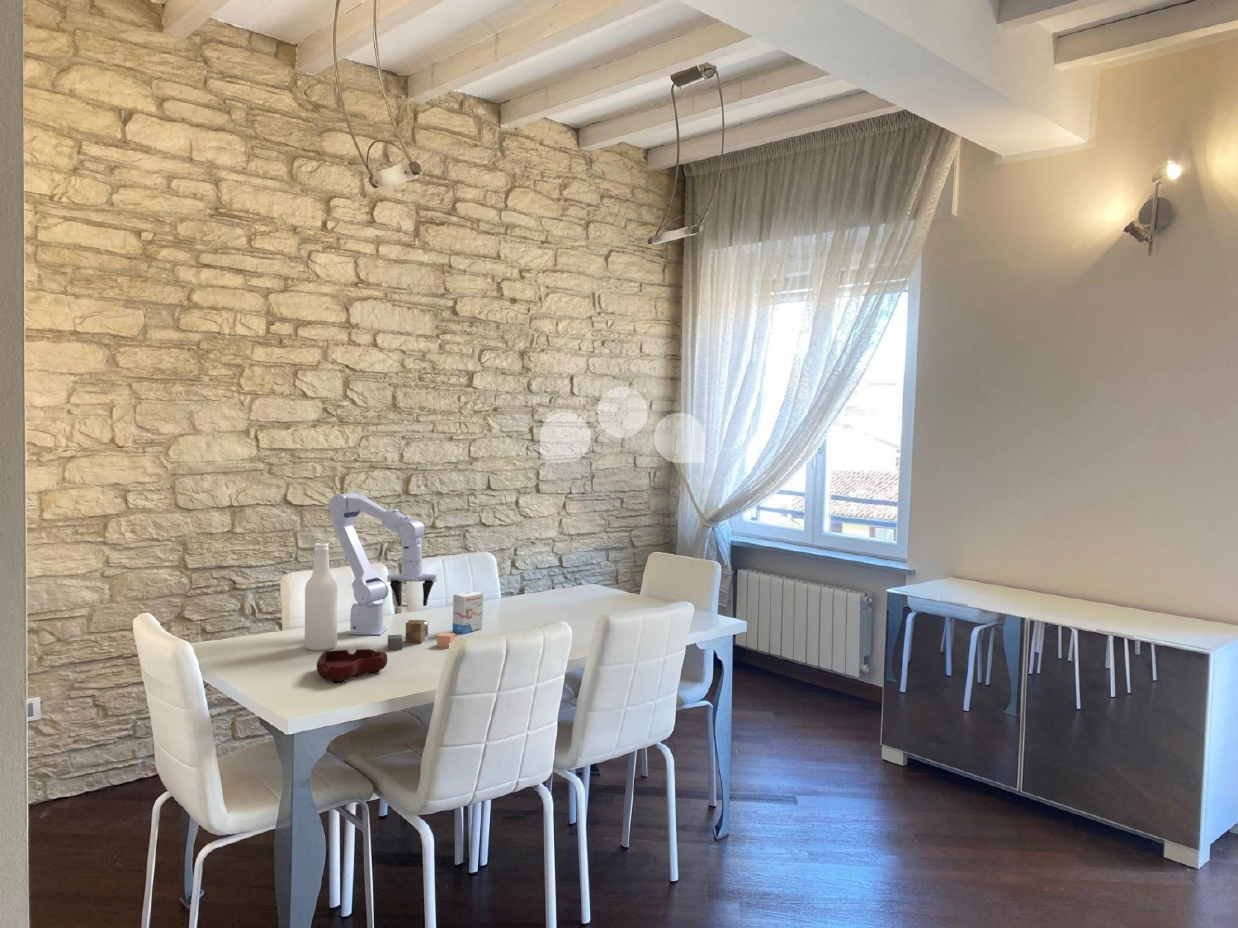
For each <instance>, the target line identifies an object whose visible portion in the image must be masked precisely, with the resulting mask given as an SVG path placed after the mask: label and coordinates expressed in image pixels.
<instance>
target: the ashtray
mask: <svg viewBox="0 0 1238 928" xmlns="http://www.w3.org/2000/svg"><path fill="white" fill-rule="evenodd" d="M387 664H388V654H387V653H386V652H384V651H379V650H377V651H376V650H375V649H370V648H359V649H358V648H357V649H355V651H354V652H353V653H351V652H349V651H348V649H336V650H333V649H332V650H325V651H323V653H322V654H320V656H319V658H318V659H317V662H316V672H317V674H318V675H319V676H320V677H321V678H322V679H323V680H327V681H331V683H332V682H333V683H332V684H334V683H335V685H338V684H337V683H341V684H344V683H345V682H346V681H347V680H350V679H353V678H354V677H355V678H358V677H361V676H363V675H366V674H371V673H374V674H378V673H377V672H379V671H381V670H383V669H384V668H386V666H387ZM379 673H380V672H379ZM343 682H344V683H343Z"/></svg>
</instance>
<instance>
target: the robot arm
mask: <svg viewBox="0 0 1238 928" xmlns="http://www.w3.org/2000/svg"><path fill="white" fill-rule="evenodd" d="M327 509H328V511H329V512H330V514H331V517H332V527H333V529H334V532H335V534H336V537H337V539H338V540H339V542H340V546H341V548H342V550H343V552H344V555H345V556H346V559H347V561H348V564H349V566H350V568H351V570H352V573H353V575H354V577H355V578H354V579H353V582H352V583H351V586H352V589H353V598H354V600H355V601H356V603H353V604H352V605H351V608H350V629H349V630H350V632H349V635H364V636H365V635H366V636H367V635H368V636H369V635H371V636H373V635H375V636H380V635H382V634H383V633H385V631H387V630H388V627H384V603H385V600H386V598H387V597H388V595H389V591H390V590H389V586H388V584H387V583H389V582H390V583H389V585H390V588H391V589H392V591H393V594H394V596H395V600H396V604H397V607H400V606H402V602H403V601H402V600H403V599H402V589H403V586H402V585H403V582H423V583H422V592H423V593H422V594H423V598H422V599H423V600H422V606H423V607H427V605H428V600H429V596H430V594H431V593H430V592H431V590H432V587H433V586H434V583H436V582H437V581H438V574H429V573H423V562H422V560H423V555H422V553H423V549H422V548H423V546H422V544H423V543H422V542H423V541H422V540H423V539H422V538H423V537H424V536H425V534H426V530H427V529H426V526H425V523H424V522H423V521H421V520H420V519H412V518H411V516H409V515H407V516H406V515H405V514H402V513H400V510H399V509H398V508H392V509H385V508H384V507H382V506H380V505H379V504H377V503H376V502H374V501H373V500H371V499H369V498H368V497H367V495H366V494H362V493H360V492H358V491H354V492H351V493H350V492H349V493H336V494H334V495H332V496H331V498H330V500H329V504H328V507H327ZM362 512H363V513H365V514H366V515H368V516H372V517H373V518H375V519H378V520H379V521H381V525H382V526H383V527H385V528H387V529H389V530H390V531H392V532H393V533H394V532H395V533H396V534H397V535H398V537H399V539H400V541H401V543H400V544H401V546H402V547H401V548H402V549H401V550H402V553H401V554H402V557H401V558H402V559H401V562H402V565H401V567H402V568H401V569H402V570H401V571H402V573H394V574H393V573H392V574H391V573H390V574H387V575H386V577H387V578H386V579H387V580H386V581H384V580H383V578H382V577H381V575H380V574H379V573H377V572H376V571H375V570H373V568H372V566H371V563H370V561H369V559H368V557H367V555H366V552H365V550H364V548H363V546H362V543H361V541H360V538H359V536H358V534H357V532H356V530H355V527H354V523H355V521H356V520H357V518H358V517H359V515H360V514H361V513H362Z"/></svg>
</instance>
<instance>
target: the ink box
mask: <svg viewBox="0 0 1238 928" xmlns="http://www.w3.org/2000/svg"><path fill="white" fill-rule="evenodd" d="M452 598H453V601H452V602H453V603H452V604H453V605H452V607H453V608H452V633H457V634H458V633H459V634H468V632H469V633H472V632H471V631H473V630H476V629H481V630H483V613H484V612H483V611H484V610H483V609H484V593H482V592H478V591H476V590H475V591H474V590H471V591H464V592H458V593H454V595H453V597H452ZM473 632H474V631H473Z"/></svg>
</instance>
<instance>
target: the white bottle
mask: <svg viewBox="0 0 1238 928" xmlns="http://www.w3.org/2000/svg"><path fill="white" fill-rule="evenodd" d="M329 545H330V544H329V543H328V542H316V543H314V544H313V547H314V548H313V550H314V551H313V552H314V555H313V563H312V573H311V576H310V577H309V578H308V580H307V581H306V582H305V586H304V647H305V649H307V650H308V649H309V650H308V651H311V650H315V651H314V652H325V651H331V650H333V649H335V648H336V646H337V645H338V584H337V581H336V580H335V578H334V577H333V576H332V574H331V571H330V559H329V558H330V556H329V549H330V548H329ZM332 648H333V649H332ZM324 650H325V651H324Z"/></svg>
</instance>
